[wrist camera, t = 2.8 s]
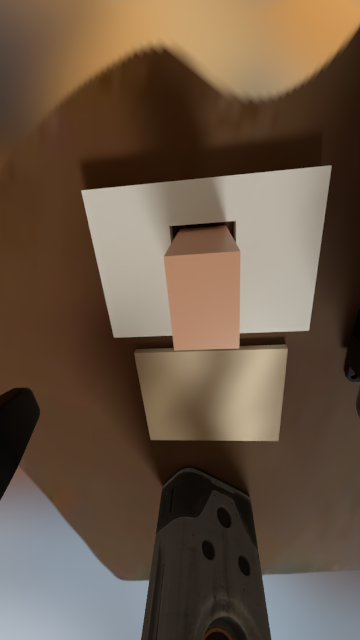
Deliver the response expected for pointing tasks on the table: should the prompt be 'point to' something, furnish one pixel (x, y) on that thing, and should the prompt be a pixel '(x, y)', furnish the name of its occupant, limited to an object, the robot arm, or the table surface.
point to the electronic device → (205, 565)
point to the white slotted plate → (209, 207)
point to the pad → (213, 392)
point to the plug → (204, 289)
